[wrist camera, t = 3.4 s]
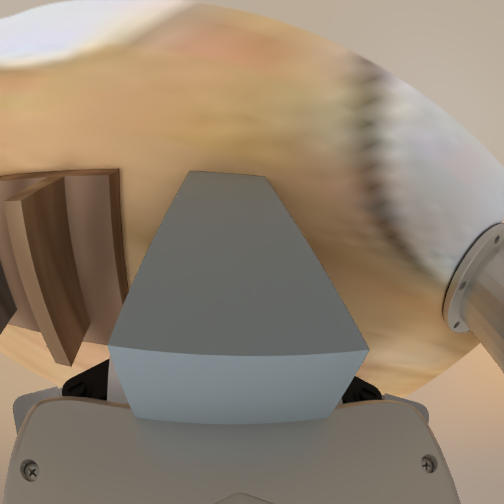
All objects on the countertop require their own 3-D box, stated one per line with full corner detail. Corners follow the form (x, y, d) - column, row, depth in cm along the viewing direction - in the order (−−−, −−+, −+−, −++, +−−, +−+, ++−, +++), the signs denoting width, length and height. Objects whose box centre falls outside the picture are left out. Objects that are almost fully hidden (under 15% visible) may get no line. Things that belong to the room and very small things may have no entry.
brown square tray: (119, 169, 13) (71, 199, 9) (135, 334, 19) (120, 393, 14) (-31, 180, 11) (-78, 207, 6) (4, 310, 17) (-24, 350, 12)
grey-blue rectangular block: (264, 176, 15) (369, 349, 4) (244, 321, 19) (268, 491, 9) (189, 170, 14) (107, 345, 3) (187, 318, 19) (175, 491, 8)
